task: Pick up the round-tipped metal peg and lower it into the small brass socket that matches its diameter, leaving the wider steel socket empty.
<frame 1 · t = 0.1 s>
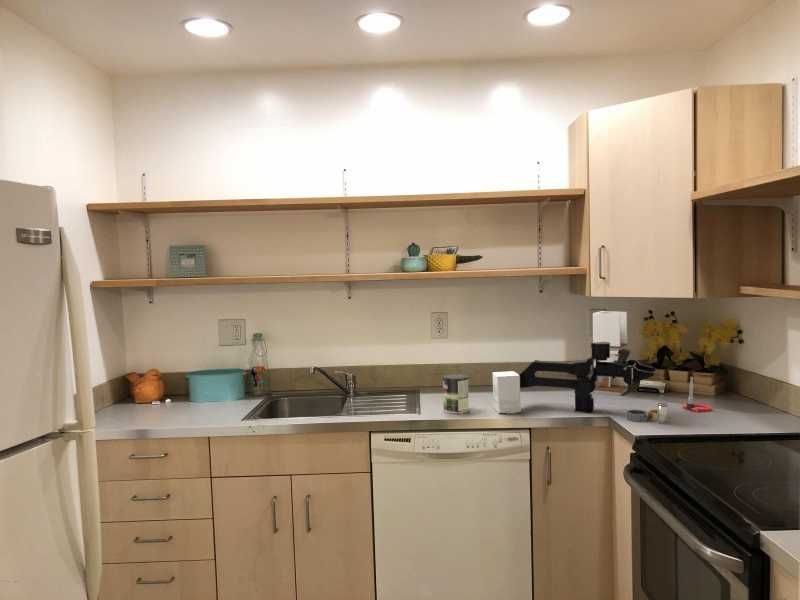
hand: (654, 371, 212), 17 cm above the table, tool horizontal, fingers open, 9 cm apart
coffee can: (456, 410, 231), on the table
spiral ramp tower: (610, 391, 254), on the table
small brass socket: (656, 418, 211), on the table
supplement box: (506, 411, 228), on the table
wide steel socket: (636, 418, 211), on the table
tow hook: (698, 409, 221), on the table
round-tipped metal peg: (662, 422, 205), on the table
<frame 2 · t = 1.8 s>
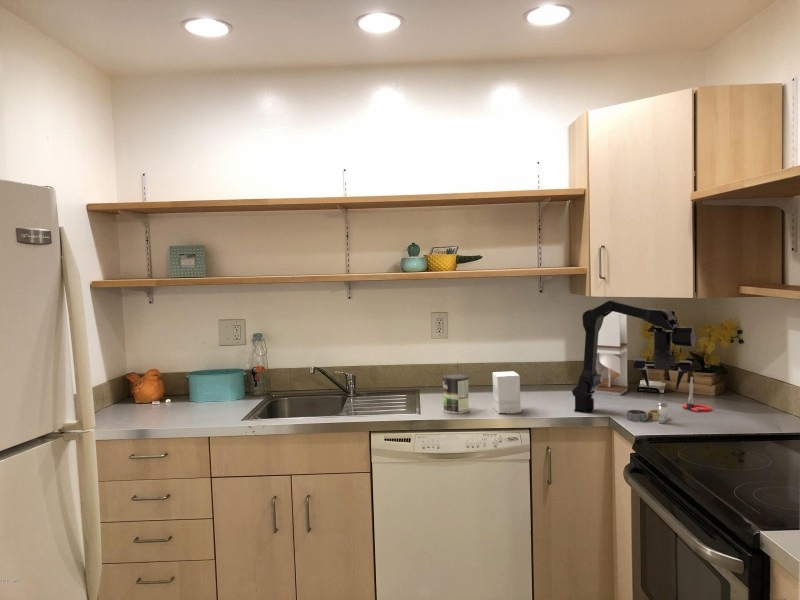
hand: (662, 388, 204), 12 cm above the table, tool pointing down, fingers open, 9 cm apart
nothing on the table moved.
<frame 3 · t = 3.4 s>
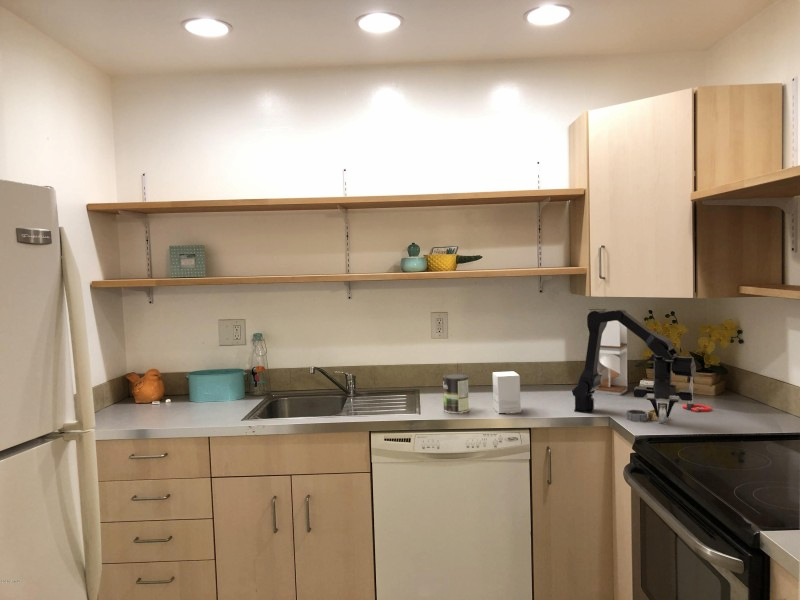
hand: (662, 417, 205), 2 cm above the table, tool pointing down, fingers closed on round-tipped metal peg, 3 cm apart
round-tipped metal peg: (662, 422, 205), on the table, touching gripper
everything else where it was.
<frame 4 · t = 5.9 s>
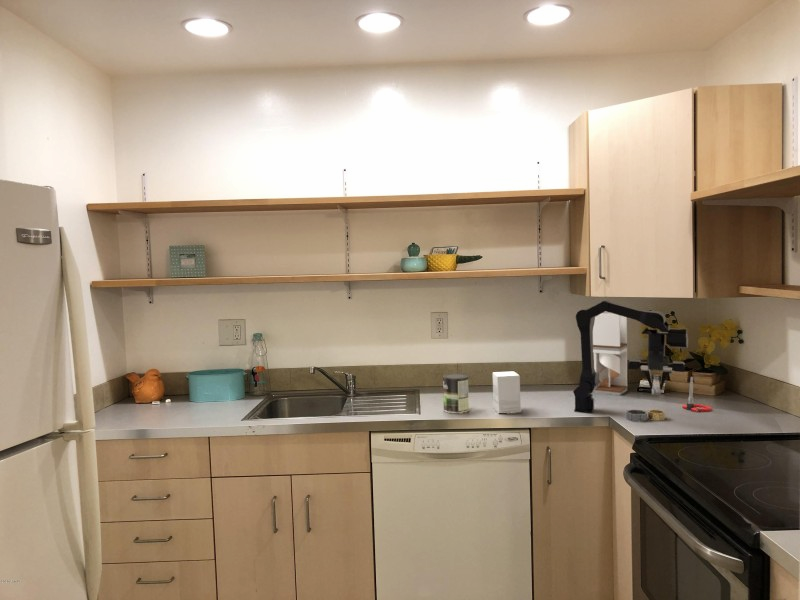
hand: (656, 388, 210), 11 cm above the table, tool pointing down, fingers closed on round-tipped metal peg, 3 cm apart
round-tipped metal peg: (656, 394, 210), point 9 cm above the table, touching gripper
everything else where it was.
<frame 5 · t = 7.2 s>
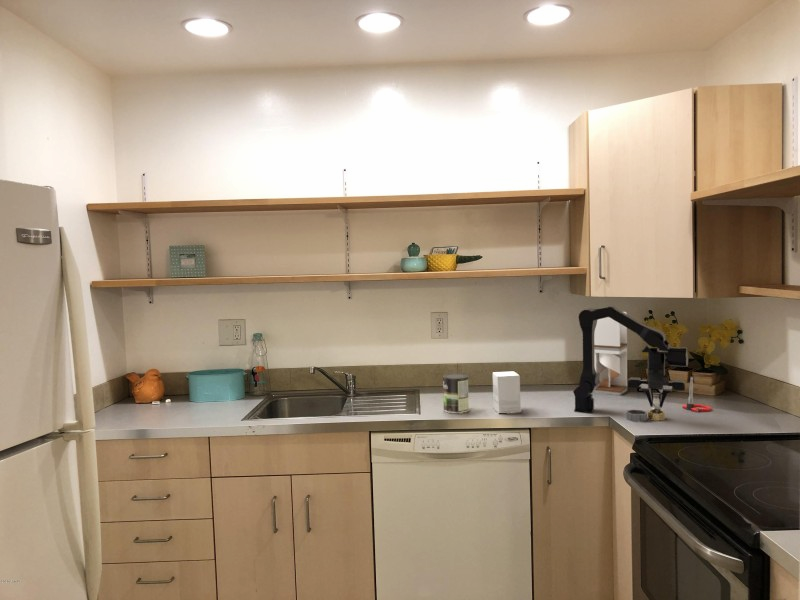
hand: (656, 407, 210), 4 cm above the table, tool pointing down, fingers closed on round-tipped metal peg, 3 cm apart
round-tipped metal peg: (656, 412, 210), point 2 cm above the table, touching gripper
everything else where it was.
when the fingers open (3 cm above the table, at t = 8.4 s): round-tipped metal peg drops 1 cm, resting in small brass socket.
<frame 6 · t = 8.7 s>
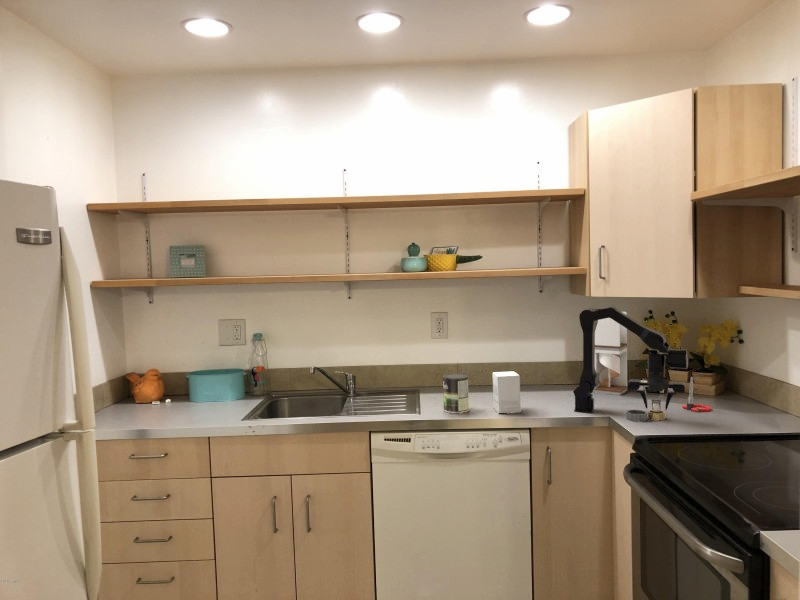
hand: (656, 409, 210), 3 cm above the table, tool pointing down, fingers open, 6 cm apart
round-tipped metal peg: (656, 418, 211), resting in small brass socket
everything else where it was.
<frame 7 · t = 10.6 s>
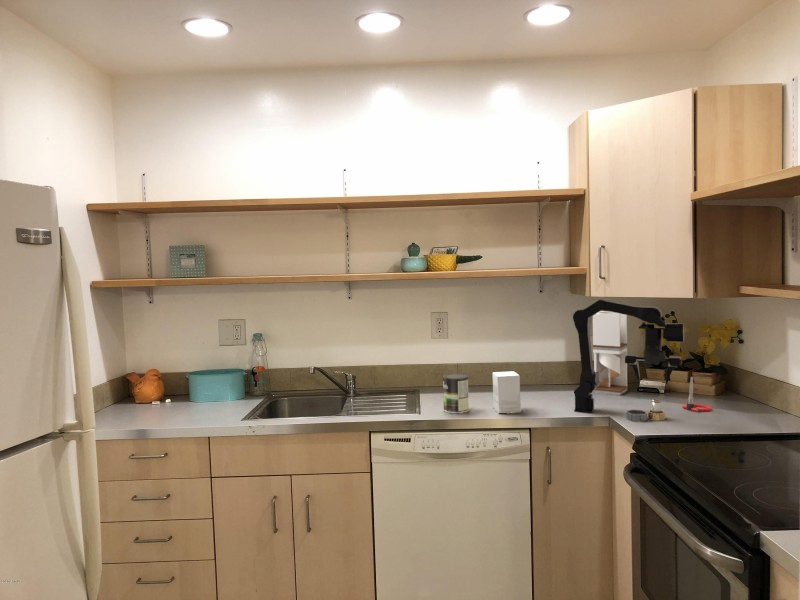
hand: (652, 383, 211), 13 cm above the table, tool pointing down, fingers open, 9 cm apart
nothing on the table moved.
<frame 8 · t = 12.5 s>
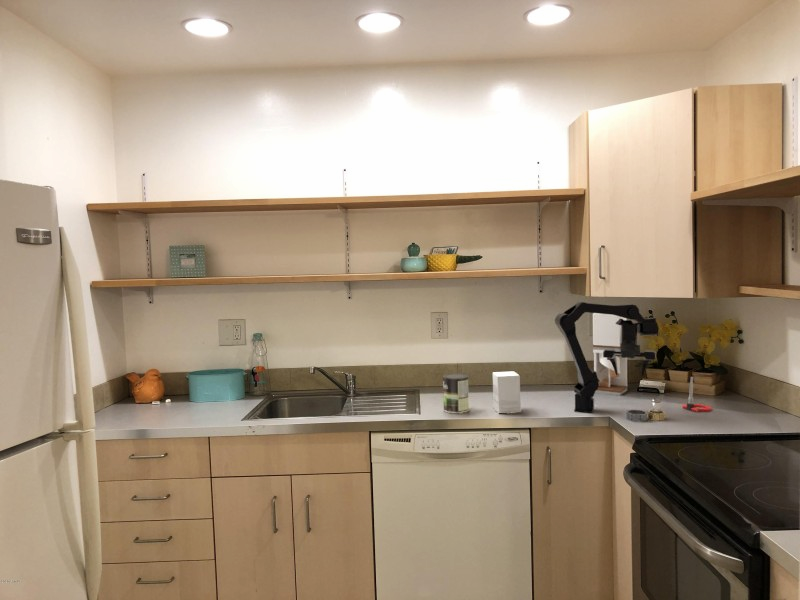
hand: (629, 375, 224), 13 cm above the table, tool pointing down, fingers open, 9 cm apart
nothing on the table moved.
at the end: round-tipped metal peg 0.1 cm off-centre on the small brass socket, point 0.0 cm above the small brass socket's base; round-tipped metal peg tilted 0°; the gripper is holding nothing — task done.
